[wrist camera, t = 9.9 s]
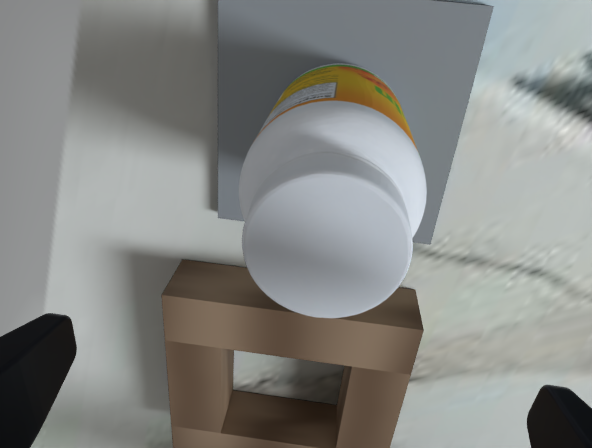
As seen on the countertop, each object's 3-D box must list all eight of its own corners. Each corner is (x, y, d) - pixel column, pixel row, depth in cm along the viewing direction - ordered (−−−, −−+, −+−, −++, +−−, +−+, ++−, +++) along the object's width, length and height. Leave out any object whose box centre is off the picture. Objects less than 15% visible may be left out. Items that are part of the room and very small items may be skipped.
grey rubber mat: (489, 5, 17) (493, 6, 16) (428, 239, 22) (430, 244, 21) (221, -21, 17) (218, -21, 17) (220, 213, 22) (217, 217, 22)
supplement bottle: (422, 159, 19) (478, 304, 11) (307, 205, 21) (277, 364, 12) (372, 35, 17) (394, 94, 9) (250, 97, 19) (167, 199, 10)
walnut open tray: (415, 289, 23) (423, 330, 20) (375, 441, 29) (377, 488, 26) (182, 259, 24) (161, 295, 21) (189, 414, 30) (173, 456, 27)
